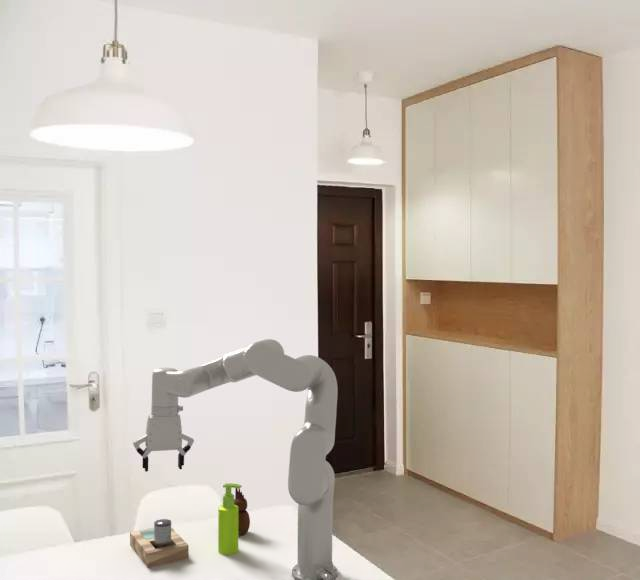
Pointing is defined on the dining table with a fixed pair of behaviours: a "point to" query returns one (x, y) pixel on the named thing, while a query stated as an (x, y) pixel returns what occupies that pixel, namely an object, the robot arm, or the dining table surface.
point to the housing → (151, 556)
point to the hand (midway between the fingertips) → (163, 469)
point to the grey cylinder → (162, 533)
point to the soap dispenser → (228, 523)
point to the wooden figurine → (242, 513)
